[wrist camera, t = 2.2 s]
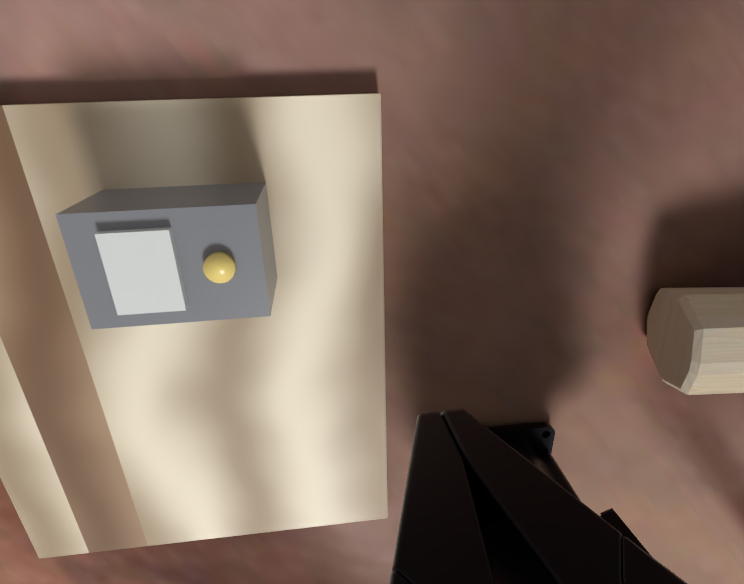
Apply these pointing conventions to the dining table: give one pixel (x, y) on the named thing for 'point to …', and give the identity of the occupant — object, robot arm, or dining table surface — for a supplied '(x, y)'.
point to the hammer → (698, 338)
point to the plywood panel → (195, 330)
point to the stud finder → (172, 254)
